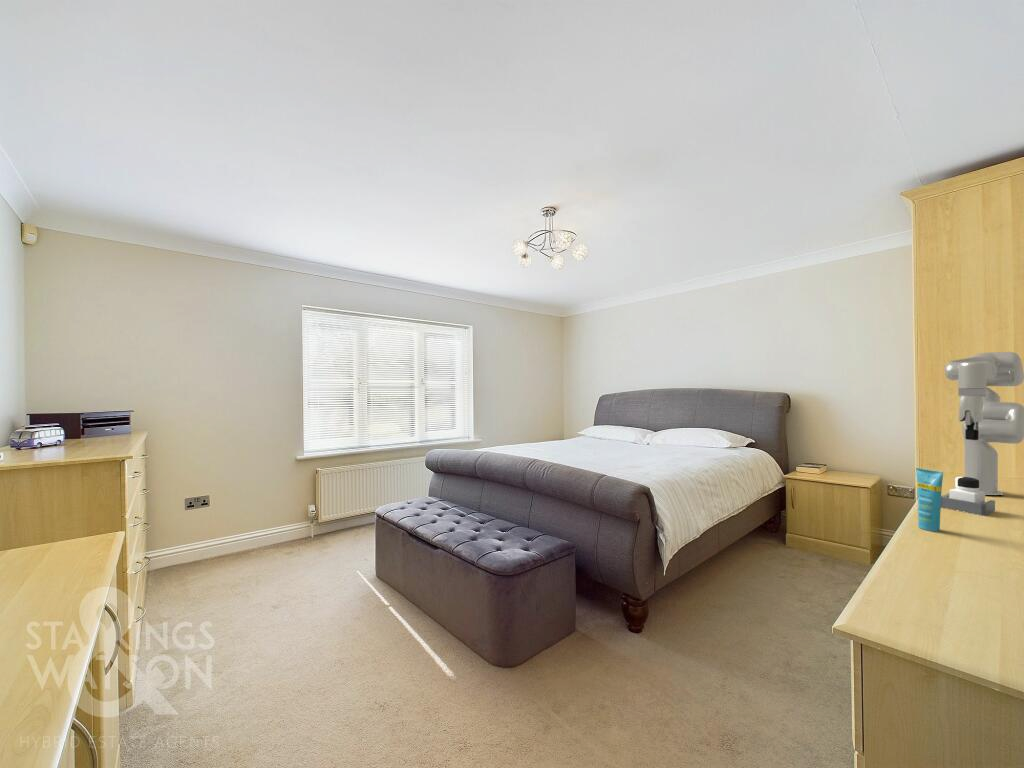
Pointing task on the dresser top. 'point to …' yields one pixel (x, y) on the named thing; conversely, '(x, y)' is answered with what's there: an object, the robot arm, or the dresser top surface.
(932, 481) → the tube
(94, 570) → the dresser top surface
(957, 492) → the medicine bottle
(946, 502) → the box
